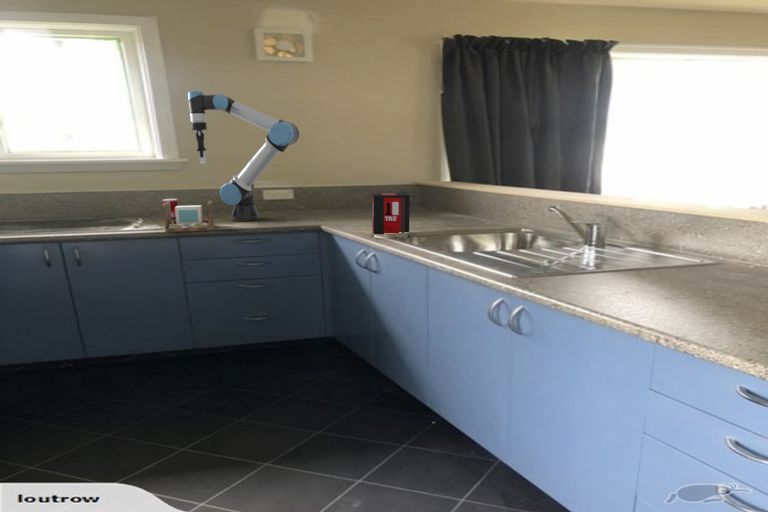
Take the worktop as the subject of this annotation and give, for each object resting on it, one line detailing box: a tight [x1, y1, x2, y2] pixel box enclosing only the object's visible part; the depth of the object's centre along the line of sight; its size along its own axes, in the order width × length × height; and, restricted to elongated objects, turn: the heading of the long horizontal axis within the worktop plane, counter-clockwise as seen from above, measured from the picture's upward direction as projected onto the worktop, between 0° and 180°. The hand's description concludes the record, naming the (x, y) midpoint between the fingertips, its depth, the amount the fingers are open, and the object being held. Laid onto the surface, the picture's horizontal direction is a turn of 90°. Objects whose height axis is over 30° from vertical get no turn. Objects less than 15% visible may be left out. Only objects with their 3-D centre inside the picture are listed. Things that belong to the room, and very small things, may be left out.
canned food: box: [162, 198, 179, 220], centre depth 288 cm, size 8×8×11 cm
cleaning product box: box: [371, 192, 411, 234], centre depth 233 cm, size 16×9×20 cm, turn 95°
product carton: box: [175, 204, 204, 224], centre depth 255 cm, size 12×6×10 cm, turn 103°
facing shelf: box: [161, 199, 215, 233], centre depth 255 cm, size 22×14×14 cm, turn 102°
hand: (203, 163), depth 266 cm, fingers open, 13 cm apart
